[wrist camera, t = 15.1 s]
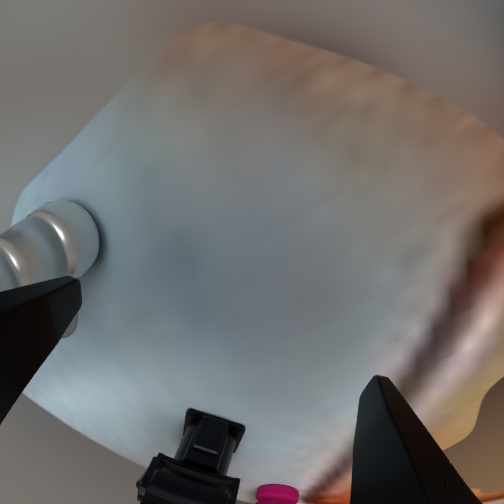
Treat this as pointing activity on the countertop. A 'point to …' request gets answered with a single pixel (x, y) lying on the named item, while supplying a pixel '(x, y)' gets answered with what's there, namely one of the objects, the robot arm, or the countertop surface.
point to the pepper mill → (277, 494)
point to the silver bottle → (48, 245)
